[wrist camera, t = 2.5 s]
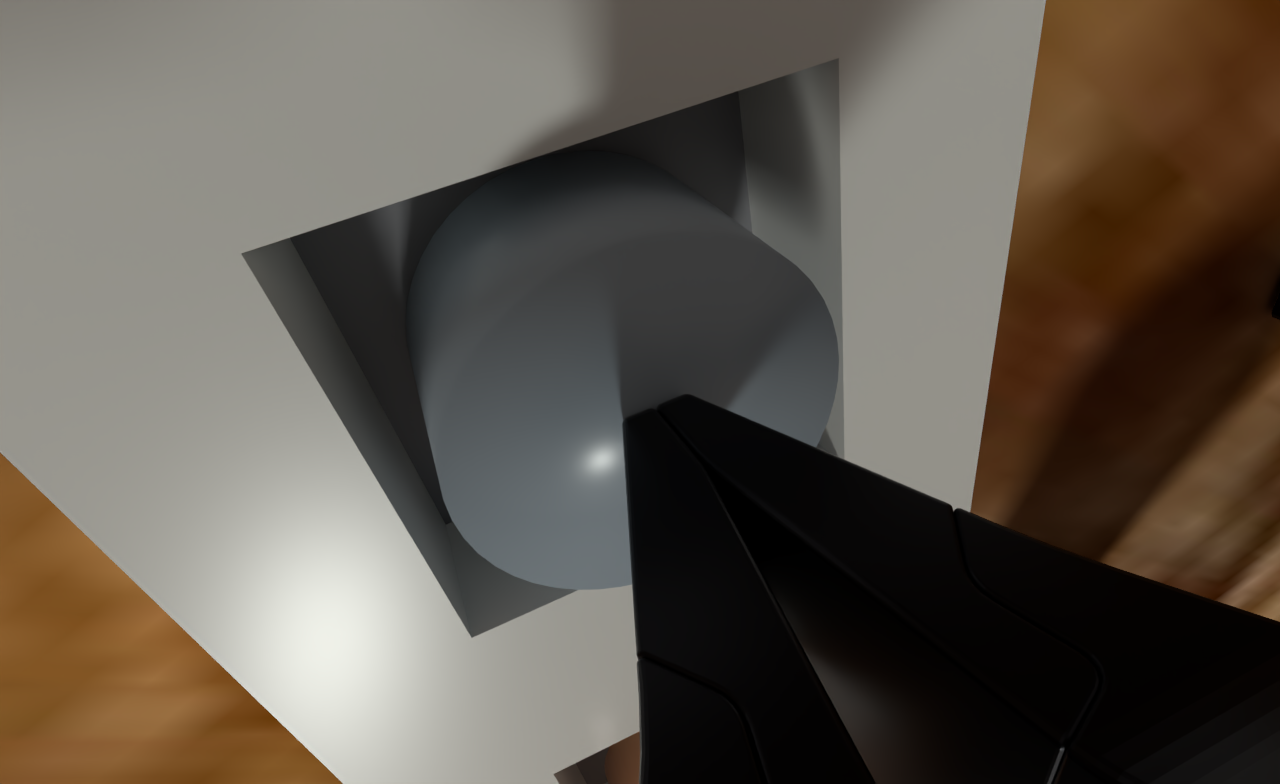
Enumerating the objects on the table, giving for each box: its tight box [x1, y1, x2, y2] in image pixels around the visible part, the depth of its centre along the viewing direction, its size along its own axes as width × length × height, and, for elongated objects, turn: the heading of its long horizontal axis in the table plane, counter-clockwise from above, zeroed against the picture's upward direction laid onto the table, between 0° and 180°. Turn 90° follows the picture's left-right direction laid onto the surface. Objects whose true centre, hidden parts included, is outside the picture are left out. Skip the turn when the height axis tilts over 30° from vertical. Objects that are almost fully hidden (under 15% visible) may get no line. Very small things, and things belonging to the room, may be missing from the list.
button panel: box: [0, 0, 1046, 784], centre depth 14 cm, size 12×22×4 cm, turn 10°
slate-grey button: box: [405, 151, 839, 590], centre depth 9 cm, size 5×5×3 cm
